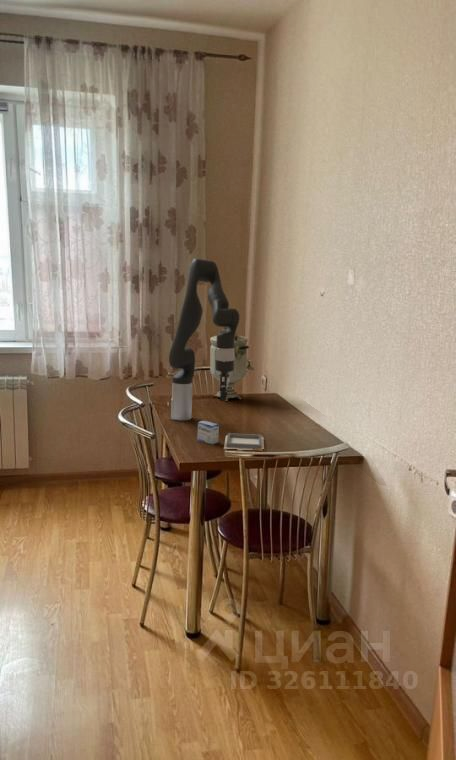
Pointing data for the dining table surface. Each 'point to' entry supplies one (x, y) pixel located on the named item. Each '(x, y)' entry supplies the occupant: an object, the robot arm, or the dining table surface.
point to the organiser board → (243, 441)
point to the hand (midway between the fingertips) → (223, 398)
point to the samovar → (239, 363)
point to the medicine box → (208, 432)
